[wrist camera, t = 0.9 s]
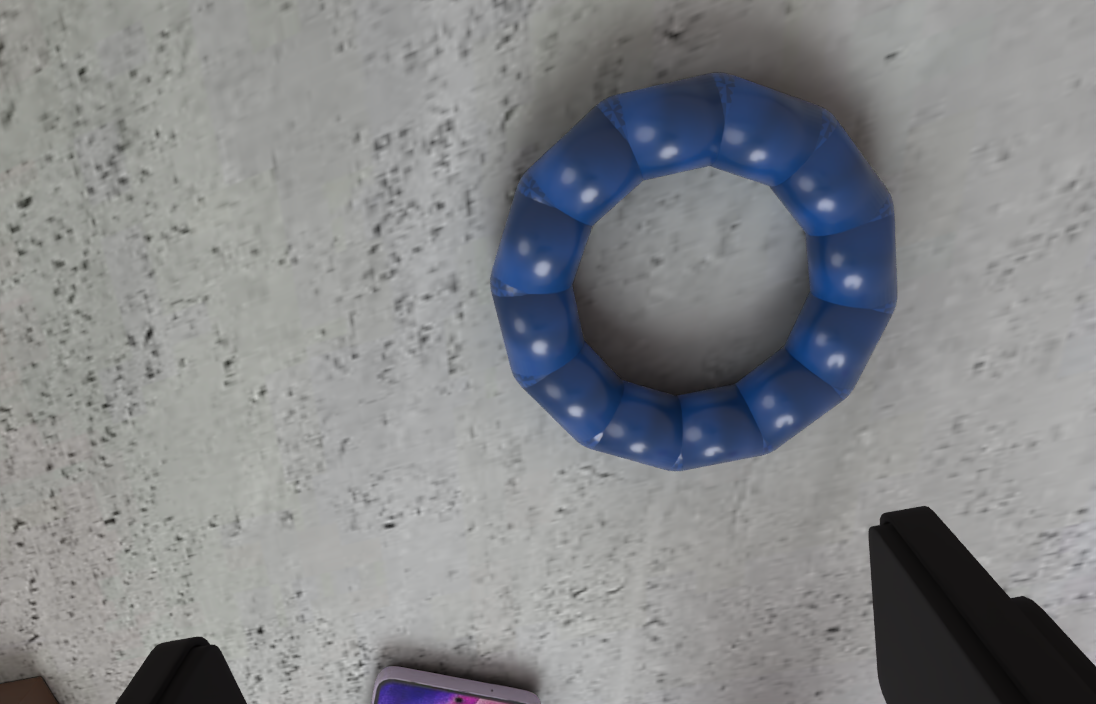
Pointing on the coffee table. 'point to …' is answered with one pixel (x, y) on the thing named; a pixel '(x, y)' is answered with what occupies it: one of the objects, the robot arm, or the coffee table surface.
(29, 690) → the peg stand
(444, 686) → the smartphone
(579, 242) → the blue spotted ring
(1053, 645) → the robot arm
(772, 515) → the coffee table surface
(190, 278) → the coffee table surface
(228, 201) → the coffee table surface
